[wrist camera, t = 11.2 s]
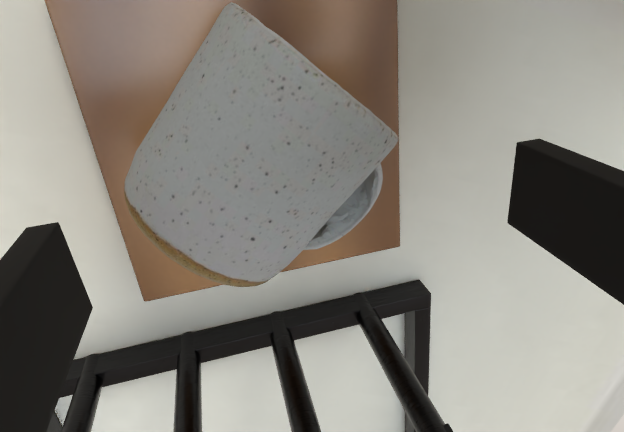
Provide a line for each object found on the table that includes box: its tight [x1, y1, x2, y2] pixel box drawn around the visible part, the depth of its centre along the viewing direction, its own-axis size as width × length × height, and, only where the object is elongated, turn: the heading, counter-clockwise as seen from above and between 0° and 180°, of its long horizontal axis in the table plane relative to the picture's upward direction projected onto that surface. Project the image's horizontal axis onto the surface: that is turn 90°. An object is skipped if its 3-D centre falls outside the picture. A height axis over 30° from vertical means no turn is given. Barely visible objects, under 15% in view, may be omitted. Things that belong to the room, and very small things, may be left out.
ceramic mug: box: [124, 2, 398, 287], centre depth 17 cm, size 11×8×8 cm
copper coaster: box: [45, 0, 400, 301], centre depth 21 cm, size 14×14×1 cm
